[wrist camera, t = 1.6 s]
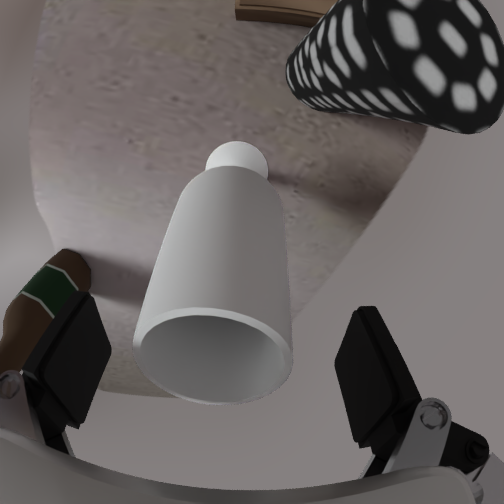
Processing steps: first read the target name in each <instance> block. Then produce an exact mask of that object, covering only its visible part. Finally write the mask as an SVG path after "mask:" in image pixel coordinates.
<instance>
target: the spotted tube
mask: <svg viewBox="0 0 504 504" xmlns="http://www.w3.org/2000/svg"><path fill="white" fill-rule="evenodd" d="M285 73H286V80H287V83H288V86H289V88H290V89H291V91H292V93H293V94H294V95H295V96H296V98H297V99H298V100H299V101H301V102H302V103H303V104H304V105H306V106H308V107H310V108H312V109H315V110H318V111H323V112H334V113H346V114H357V115H366V116H374V117H381V118H388V119H394V120H400V121H406V122H411V123H416V124H421V125H426V126H431V127H435V128H440V129H444V130H448V131H452V132H455V133H462V134H474V133H480V132H482V131H484V130H486V129H488V128H490V127H491V126H492V125H493V124H494V123H495V122H496V121H497V120H498V118H499V117H500V115H501V114H502V112H503V110H504V44H503V41H502V38H501V36H500V34H499V31H498V29H497V27H496V25H495V23H494V21H493V20H492V18H491V16H490V14H489V13H488V11H487V10H486V8H485V7H484V6H483V4H482V3H481V2H480V0H338V1H337V2H336V3H335V4H334V5H333V6H332V7H331V8H330V9H329V10H328V11H327V13H326V14H325V15H324V16H323V17H322V18H321V19H320V20H319V21H318V22H317V24H316V25H315V26H314V27H313V28H312V29H311V30H310V31H309V33H308V34H307V35H306V36H305V37H304V38H303V40H302V41H301V42H300V43H299V44H298V45H297V47H296V48H295V49H294V50H293V51H292V53H291V54H290V56H289V58H288V60H287V63H286V71H285Z"/></svg>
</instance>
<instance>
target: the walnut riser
mask: <svg viewBox="0 0 504 504" xmlns="http://www.w3.org/2000/svg"><path fill="white" fill-rule="evenodd" d="M337 1H338V0H236V2H235V14H236V20H248V21H265V22H276V23H285V24H293V25H300V26H306V27H312V28H313V27H314V26H315V25H316V24H317V22H318V21H319V20H320V19H321V18H322V17H323V16H324V15H325V14H326V13H327V11H328V10H329V9H330V8H331V7H332V6H333V5H334V4H335V3H336V2H337Z"/></svg>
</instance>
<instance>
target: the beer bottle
mask: <svg viewBox="0 0 504 504" xmlns="http://www.w3.org/2000/svg"><path fill="white" fill-rule="evenodd" d="M90 287H91V269H90V268H89V267H88V265H87V264H86V263H85V261H84V260H83V259H82V257H81V256H80V254H77V253H74V252H72V251H69V250H66V249H62V250H61V251H60V252H58V253H57V254H56V255H54V256H53V257H52V258H51V259H50V260H49V261H48V262H46V263H45V265H44V266H43V267H42V268H41V269H40V270H39V271H38V272H37V273H36V274H35V275H34V276H33V277H32V279H31V280H30V281H29V282H28V283H27V284H26V285H25V286H24V288H23V289H22V290H21V291H20V292H19V293H18V295H17V296H16V297H15V298H14V300H13V301H12V302H11V304H10V305H9V307H8V308H7V310H6V314H5V317H4V320H3V337H2V339H1V341H0V375H1V374H2V373H3V372H5V371H8V370H16V371H18V372H20V371H21V369H22V367H23V365H24V364H25V362H26V360H27V359H28V357H29V355H30V354H31V352H32V350H33V349H34V347H35V346H36V344H37V342H38V341H39V339H40V338H41V336H42V335H43V333H44V332H45V330H46V329H47V327H48V326H49V324H50V323H51V321H52V320H53V319H54V317H55V316H56V314H57V313H58V311H59V310H60V309H61V307H62V306H63V305H64V303H65V302H66V300H67V299H68V298H69V296H70V295H71V294H72V292H74V291H76V290H77V291H85V292H88V290H89V289H90Z"/></svg>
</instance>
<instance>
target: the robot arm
mask: <svg viewBox="0 0 504 504" xmlns="http://www.w3.org/2000/svg"><path fill="white" fill-rule="evenodd" d="M111 350H112V349H111V345H110V342H109V340H108V337H107V335H106V332H105V329H104V326H103V324H102V321H101V318H100V315H99V312H98V309H97V306H96V303H95V300H94V298H93V297H92V296H91V295H90V293H89V292H85V291H77V290H76V291H74V292H72V294H71V295H70V296H69V298H68V299H67V300H66V302H65V303H64V305H63V306H62V307H61V309H60V310H59V311H58V313H57V314H56V316H55V317H54V319H53V320H52V321H51V323H50V324H49V326H48V327H47V329H46V330H45V332H44V333H43V335H42V336H41V338H40V339H39V341H38V342H37V344H36V346H35V347H34V349H33V350H32V352H31V354H30V355H29V357H28V359H27V360H26V362H25V364H24V365H23V367H22V370H23V374H22V375H21V374H20V373H19V372H18V371H16V370H8V371H5V372H3V373H2V374H1V375H0V504H504V463H503V462H502V461H501V460H500V459H499V458H498V457H497V456H496V455H495V454H493V453H491V454H489V445H488V443H487V440H486V439H485V438H484V437H483V436H481V435H480V434H478V433H476V432H473V431H471V430H469V429H467V428H465V427H463V426H461V425H459V424H457V423H454V422H452V421H451V412H450V410H449V408H448V406H447V405H446V404H445V403H444V402H443V401H441V400H439V399H437V398H427V399H424V400H422V398H421V396H420V394H419V391H418V389H417V387H416V385H415V383H414V380H413V378H412V376H411V374H410V372H409V370H408V367H407V365H406V363H405V361H404V359H403V357H402V355H401V353H400V351H399V349H398V347H397V345H396V344H395V342H394V340H393V338H392V336H391V334H390V332H389V330H388V328H387V326H386V325H385V323H384V321H383V319H382V317H381V315H380V313H379V311H378V310H377V308H376V307H375V306H360V307H359V308H358V309H357V310H355V311H354V312H353V314H352V317H351V320H350V323H349V325H348V328H347V330H346V333H345V336H344V338H343V341H342V344H341V346H340V348H339V351H338V353H337V356H336V358H335V370H336V374H337V377H338V381H339V385H340V389H341V392H342V396H343V400H344V403H345V408H346V412H347V416H348V419H349V424H350V428H351V432H352V436H353V439H354V441H355V442H358V444H359V448H365V447H370V446H371V449H372V453H373V455H372V456H371V458H370V460H369V462H368V463H367V465H366V467H365V469H364V470H363V472H362V473H361V475H360V477H359V478H358V479H357V480H352V481H347V482H341V483H335V484H328V485H322V486H314V487H306V488H296V489H285V490H284V489H283V490H221V489H207V488H197V487H189V486H182V485H175V484H169V483H163V482H158V481H153V480H148V479H143V478H139V477H135V476H131V475H127V474H123V473H120V472H116V471H113V470H109V469H106V468H103V467H100V466H97V465H94V464H91V463H88V462H86V461H83V460H80V459H77V458H76V457H75V455H74V453H73V450H72V448H71V445H70V443H69V440H68V437H67V435H66V432H65V427H66V425H68V426H71V427H73V428H76V429H79V427H80V424H82V423H84V421H85V419H86V416H87V413H88V410H89V408H90V405H91V402H92V400H93V397H94V395H95V392H96V389H97V387H98V384H99V382H100V379H101V377H102V375H103V372H104V370H105V367H106V365H107V363H108V360H109V358H110V356H111Z"/></svg>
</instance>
